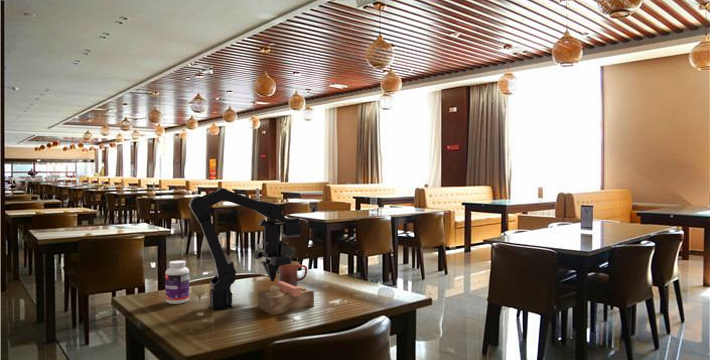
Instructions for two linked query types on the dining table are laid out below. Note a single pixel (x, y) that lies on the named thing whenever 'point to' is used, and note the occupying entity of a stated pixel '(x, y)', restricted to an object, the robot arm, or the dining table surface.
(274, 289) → the sliding box lid
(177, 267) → the pill bottle
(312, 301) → the toolbox
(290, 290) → the salmon pink rectangular bar
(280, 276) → the mug
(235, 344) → the dining table surface
